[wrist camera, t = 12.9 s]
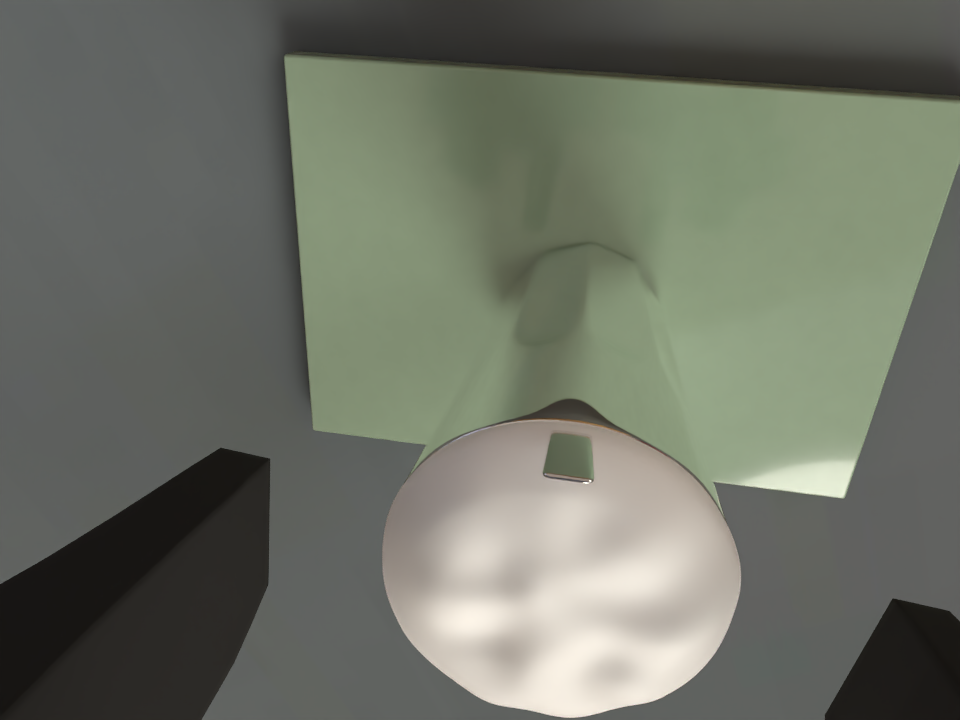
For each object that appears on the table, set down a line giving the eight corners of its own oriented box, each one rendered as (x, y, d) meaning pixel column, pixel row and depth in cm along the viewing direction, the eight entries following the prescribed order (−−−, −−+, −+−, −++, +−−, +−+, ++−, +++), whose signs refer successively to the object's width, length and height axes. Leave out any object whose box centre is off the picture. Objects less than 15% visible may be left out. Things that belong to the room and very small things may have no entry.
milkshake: (717, 183, 15) (841, 516, 6) (670, 413, 18) (714, 868, 9) (487, 161, 16) (320, 442, 7) (475, 387, 18) (341, 795, 10)
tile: (319, 418, 20) (311, 431, 20) (293, 50, 16) (282, 54, 15) (839, 484, 19) (845, 500, 18) (969, 96, 14) (981, 101, 14)
